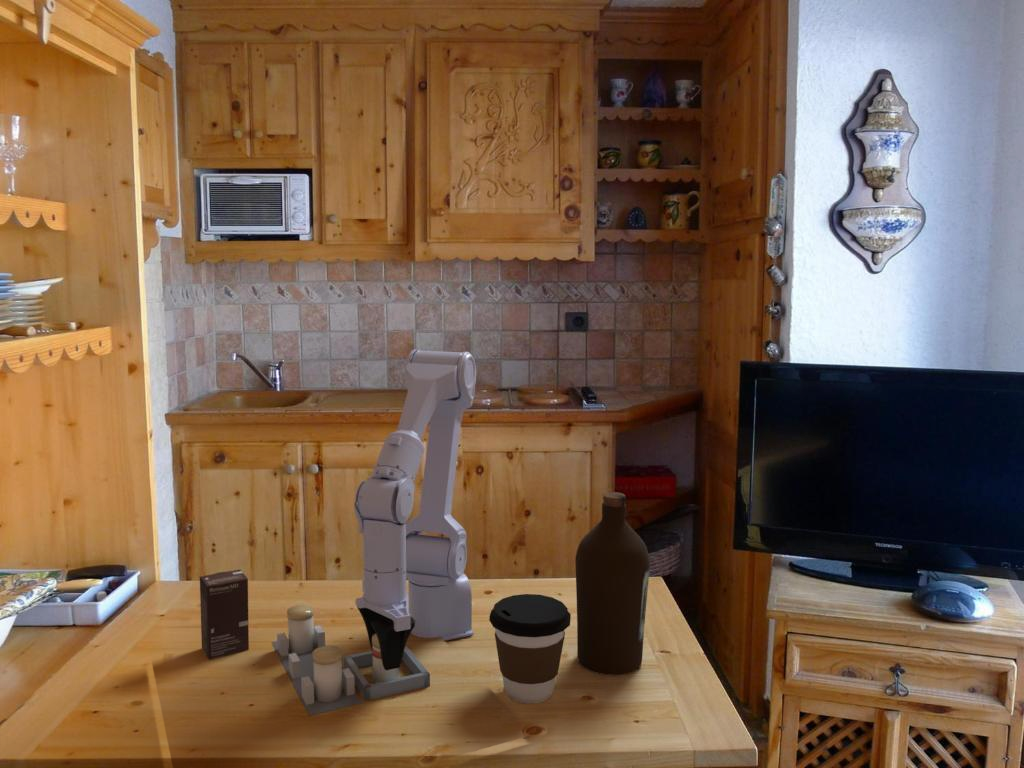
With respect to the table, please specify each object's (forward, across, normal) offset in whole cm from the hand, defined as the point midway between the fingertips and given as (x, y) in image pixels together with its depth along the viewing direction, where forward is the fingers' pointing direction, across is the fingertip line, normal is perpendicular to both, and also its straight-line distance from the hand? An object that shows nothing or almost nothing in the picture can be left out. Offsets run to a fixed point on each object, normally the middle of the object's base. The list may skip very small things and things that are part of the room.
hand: (385, 660), depth 119 cm
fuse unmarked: (+2, +2, -8) cm, 9 cm away
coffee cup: (+3, +11, +16) cm, 20 cm away
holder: (+3, -6, -8) cm, 11 cm away
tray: (+3, 0, 0) cm, 3 cm away
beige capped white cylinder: (+2, -14, -8) cm, 16 cm away
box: (+3, -18, -18) cm, 26 cm away
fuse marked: (+2, 0, 0) cm, 3 cm away
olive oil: (+3, +8, +32) cm, 33 cm away
